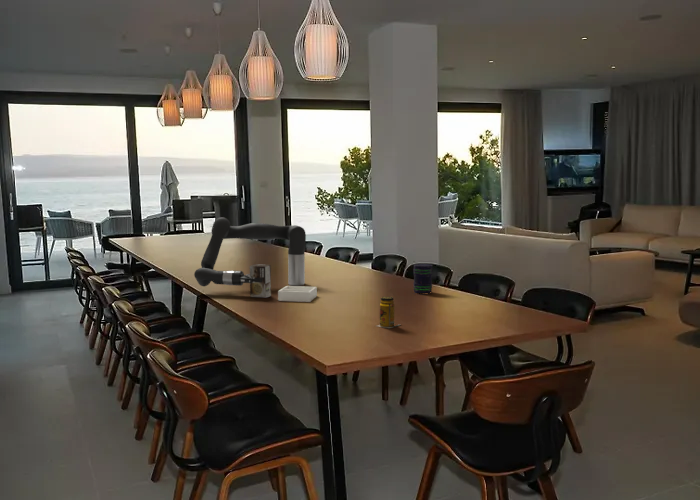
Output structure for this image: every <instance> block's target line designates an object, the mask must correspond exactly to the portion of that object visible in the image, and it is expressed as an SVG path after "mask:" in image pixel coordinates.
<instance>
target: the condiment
mask: <svg viewBox="0 0 700 500" xmlns="http://www.w3.org/2000/svg"><path fill="white" fill-rule="evenodd" d="M394 302H395V301H394V297H393V296H382V297H380V304H379V324H378V325H376V327H378V328H379V327H380V328H384V329H393V328H396V327H399V326H400V324H398V323H397V324H398V325H396V326H394V324H395V303H394Z"/></svg>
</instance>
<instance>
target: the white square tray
mask: <svg viewBox="0 0 700 500" xmlns="http://www.w3.org/2000/svg"><path fill="white" fill-rule="evenodd" d="M317 290H318V288H317V286H304V285H286V286H284V287H282V288H281V289H279V290H277V301H278V302H279V301H280V302H299V303H300V302H302V303H305V302H306V303H311V302H312V301H313V300H315V298H317V295H318V293H317V292H318V291H317Z"/></svg>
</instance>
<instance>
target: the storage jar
mask: <svg viewBox="0 0 700 500" xmlns="http://www.w3.org/2000/svg"><path fill="white" fill-rule="evenodd" d="M432 276H433V264H431V263H414V264H413V286H412V287H413V291H414V292H415V293H430V292H432V289H433V283H432V279H433V277H432ZM415 293H414V294H415Z"/></svg>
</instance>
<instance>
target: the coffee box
mask: <svg viewBox="0 0 700 500" xmlns="http://www.w3.org/2000/svg"><path fill="white" fill-rule="evenodd" d="M271 269H272V268H271V264H259V263H257V264H251V265H249V274H250V276H252V277H254V278H262V282H254V283H253V282H252V283H249V291H250V293H249V294H250V295H249V296H250V298H269V297H271V296H272V286H271V284H272V280H271V278H272V277H271V276H272V274H271Z"/></svg>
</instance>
